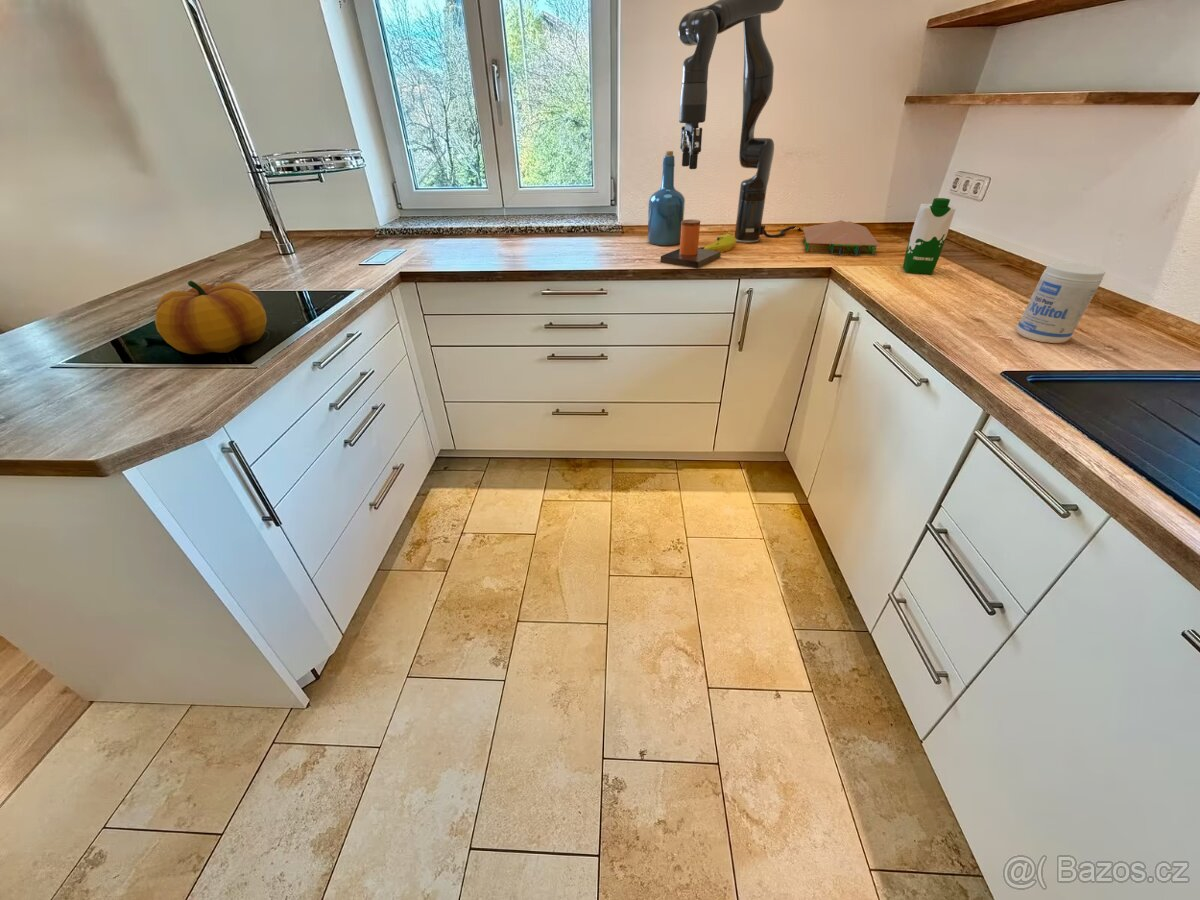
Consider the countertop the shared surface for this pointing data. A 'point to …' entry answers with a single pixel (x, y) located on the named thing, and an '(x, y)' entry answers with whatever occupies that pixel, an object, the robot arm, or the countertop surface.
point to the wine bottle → (666, 208)
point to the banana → (722, 243)
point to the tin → (689, 237)
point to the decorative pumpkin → (210, 318)
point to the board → (691, 258)
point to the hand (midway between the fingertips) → (689, 167)
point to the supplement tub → (1059, 301)
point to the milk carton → (928, 236)
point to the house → (840, 236)
